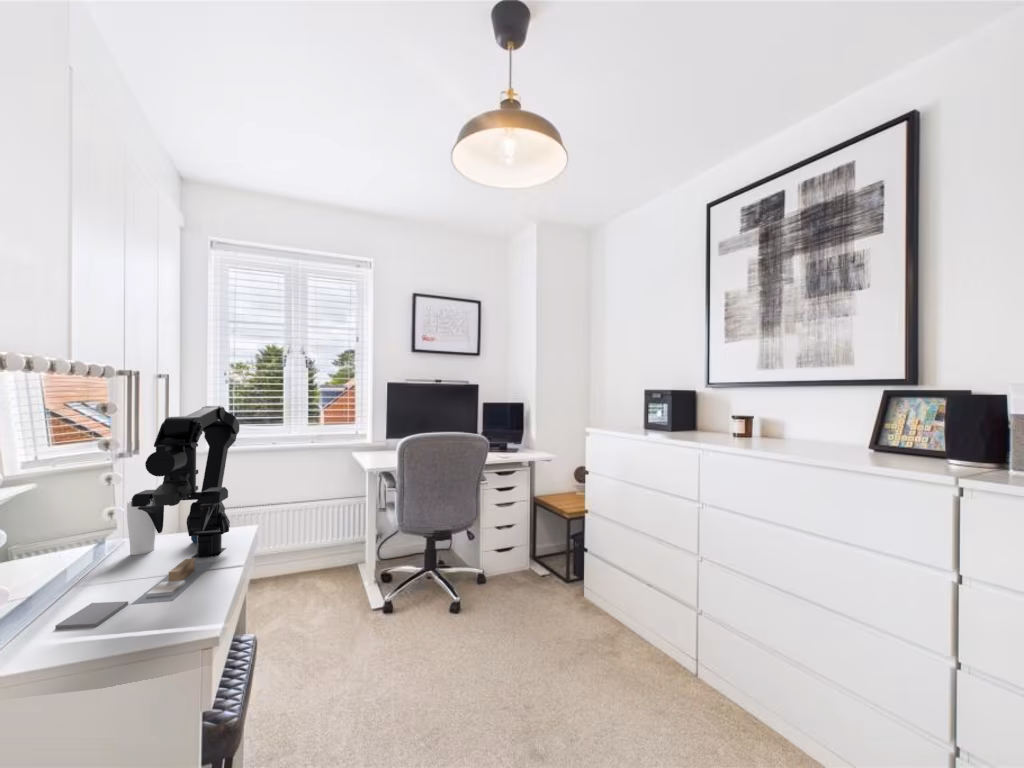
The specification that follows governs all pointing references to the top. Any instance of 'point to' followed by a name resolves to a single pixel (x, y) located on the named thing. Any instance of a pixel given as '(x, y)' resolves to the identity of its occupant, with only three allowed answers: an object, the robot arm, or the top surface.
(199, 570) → the mat
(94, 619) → the tile
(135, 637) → the top surface
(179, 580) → the turner
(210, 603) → the top surface
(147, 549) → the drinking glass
